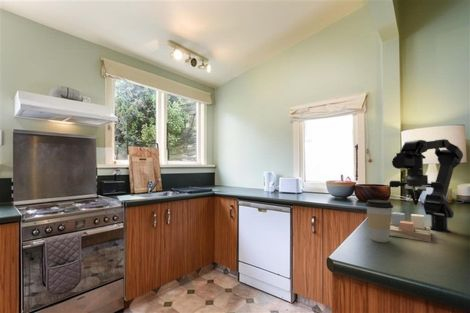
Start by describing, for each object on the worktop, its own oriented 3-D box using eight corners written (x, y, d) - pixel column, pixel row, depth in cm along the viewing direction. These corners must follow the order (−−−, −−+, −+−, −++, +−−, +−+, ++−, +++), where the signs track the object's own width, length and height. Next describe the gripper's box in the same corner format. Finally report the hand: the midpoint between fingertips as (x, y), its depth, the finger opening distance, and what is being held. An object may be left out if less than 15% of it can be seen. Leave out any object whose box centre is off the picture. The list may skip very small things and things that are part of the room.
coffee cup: (368, 235, 100) (367, 198, 100) (395, 239, 94) (394, 200, 94) (363, 240, 92) (362, 201, 93) (392, 245, 86) (391, 203, 87)
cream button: (411, 225, 106) (411, 213, 107) (424, 226, 104) (424, 215, 104) (411, 227, 103) (410, 215, 103) (424, 228, 100) (424, 216, 100)
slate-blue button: (392, 223, 111) (392, 212, 111) (404, 224, 108) (404, 213, 108) (391, 224, 107) (391, 213, 108) (404, 226, 104) (403, 214, 105)
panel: (389, 227, 113) (388, 222, 113) (430, 232, 104) (429, 227, 104) (384, 234, 101) (384, 228, 101) (430, 241, 91) (430, 235, 91)
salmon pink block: (400, 232, 102) (400, 220, 102) (414, 234, 99) (413, 222, 100) (400, 234, 99) (399, 222, 99) (413, 236, 96) (413, 224, 96)
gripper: (387, 168, 105) (388, 204, 104) (444, 169, 94) (445, 209, 93) (390, 168, 114) (391, 202, 113) (442, 169, 102) (443, 206, 101)
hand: (415, 204), depth 105 cm, fingers closed
